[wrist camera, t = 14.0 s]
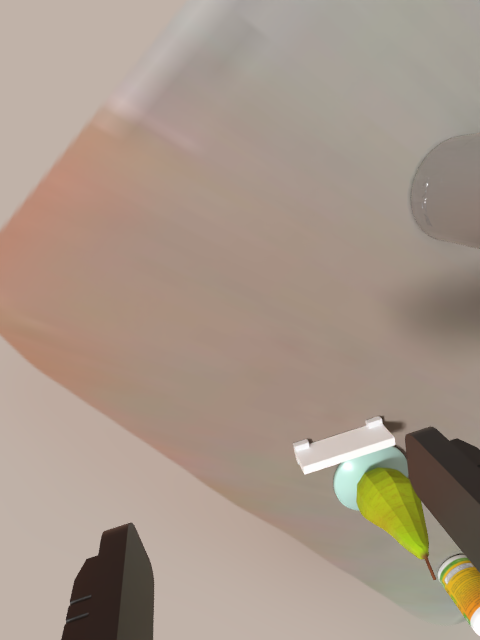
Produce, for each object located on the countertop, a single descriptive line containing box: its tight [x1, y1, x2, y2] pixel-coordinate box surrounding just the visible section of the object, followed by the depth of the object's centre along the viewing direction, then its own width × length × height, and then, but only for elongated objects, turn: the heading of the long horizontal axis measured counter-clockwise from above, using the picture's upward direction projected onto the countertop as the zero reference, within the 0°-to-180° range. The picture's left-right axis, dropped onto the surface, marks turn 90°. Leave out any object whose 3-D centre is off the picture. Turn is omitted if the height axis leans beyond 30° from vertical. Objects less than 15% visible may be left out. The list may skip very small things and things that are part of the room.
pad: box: [333, 446, 408, 511], centre depth 46 cm, size 9×9×1 cm
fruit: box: [356, 467, 436, 580], centre depth 40 cm, size 6×6×12 cm
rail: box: [293, 416, 395, 474], centre depth 43 cm, size 10×2×3 cm, turn 104°
